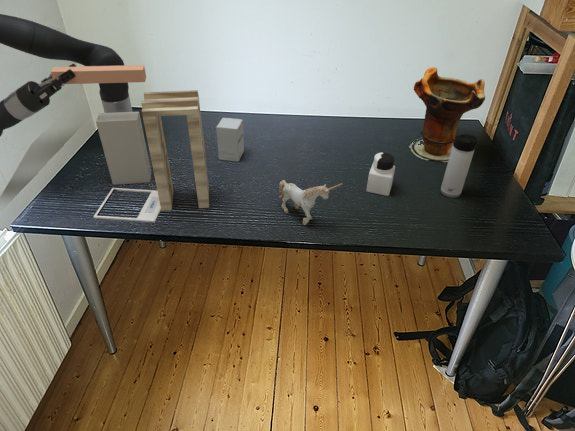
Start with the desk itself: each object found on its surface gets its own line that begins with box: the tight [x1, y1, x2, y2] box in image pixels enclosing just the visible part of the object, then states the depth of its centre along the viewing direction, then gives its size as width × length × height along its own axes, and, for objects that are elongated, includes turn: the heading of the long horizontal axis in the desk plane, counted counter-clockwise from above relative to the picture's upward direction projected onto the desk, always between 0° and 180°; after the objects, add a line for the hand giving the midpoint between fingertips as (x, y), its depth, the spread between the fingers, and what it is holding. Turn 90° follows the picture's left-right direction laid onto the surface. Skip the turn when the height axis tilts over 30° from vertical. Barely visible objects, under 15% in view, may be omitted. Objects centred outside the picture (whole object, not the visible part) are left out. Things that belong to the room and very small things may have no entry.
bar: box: [50, 64, 147, 85], centre depth 127 cm, size 4×24×4 cm, turn 98°
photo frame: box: [93, 187, 161, 223], centre depth 138 cm, size 15×1×18 cm
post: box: [95, 111, 152, 185], centre depth 142 cm, size 6×12×22 cm, turn 98°
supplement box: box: [215, 117, 245, 163], centre depth 157 cm, size 7×7×13 cm
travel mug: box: [440, 133, 478, 199], centre depth 140 cm, size 6×7×20 cm
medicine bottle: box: [365, 151, 396, 197], centre depth 143 cm, size 7×7×12 cm
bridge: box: [140, 89, 210, 212], centre depth 130 cm, size 10×14×34 cm
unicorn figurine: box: [278, 179, 343, 226], centre depth 131 cm, size 7×20×13 cm, turn 62°
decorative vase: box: [408, 67, 486, 163], centre depth 158 cm, size 21×23×28 cm
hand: (74, 69), depth 125 cm, fingers closed on bar, 3 cm apart
